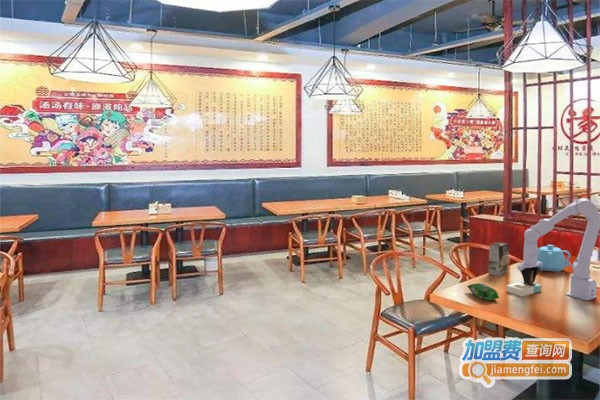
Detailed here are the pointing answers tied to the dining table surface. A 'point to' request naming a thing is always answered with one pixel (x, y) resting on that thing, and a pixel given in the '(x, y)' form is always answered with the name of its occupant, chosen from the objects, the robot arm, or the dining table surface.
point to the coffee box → (498, 258)
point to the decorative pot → (552, 258)
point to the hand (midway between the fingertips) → (529, 282)
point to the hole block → (523, 288)
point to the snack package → (483, 291)
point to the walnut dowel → (531, 280)
